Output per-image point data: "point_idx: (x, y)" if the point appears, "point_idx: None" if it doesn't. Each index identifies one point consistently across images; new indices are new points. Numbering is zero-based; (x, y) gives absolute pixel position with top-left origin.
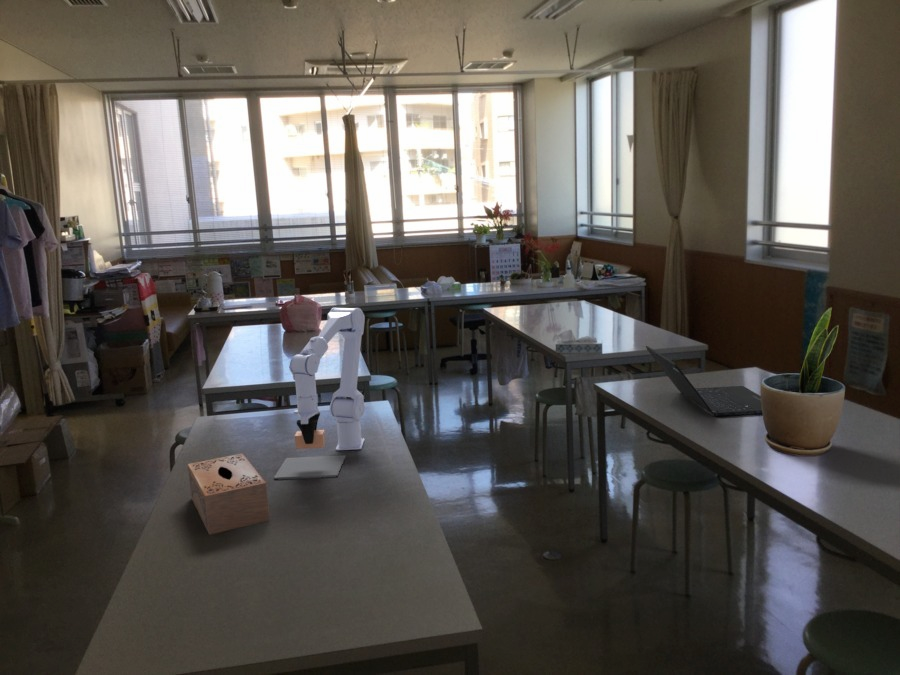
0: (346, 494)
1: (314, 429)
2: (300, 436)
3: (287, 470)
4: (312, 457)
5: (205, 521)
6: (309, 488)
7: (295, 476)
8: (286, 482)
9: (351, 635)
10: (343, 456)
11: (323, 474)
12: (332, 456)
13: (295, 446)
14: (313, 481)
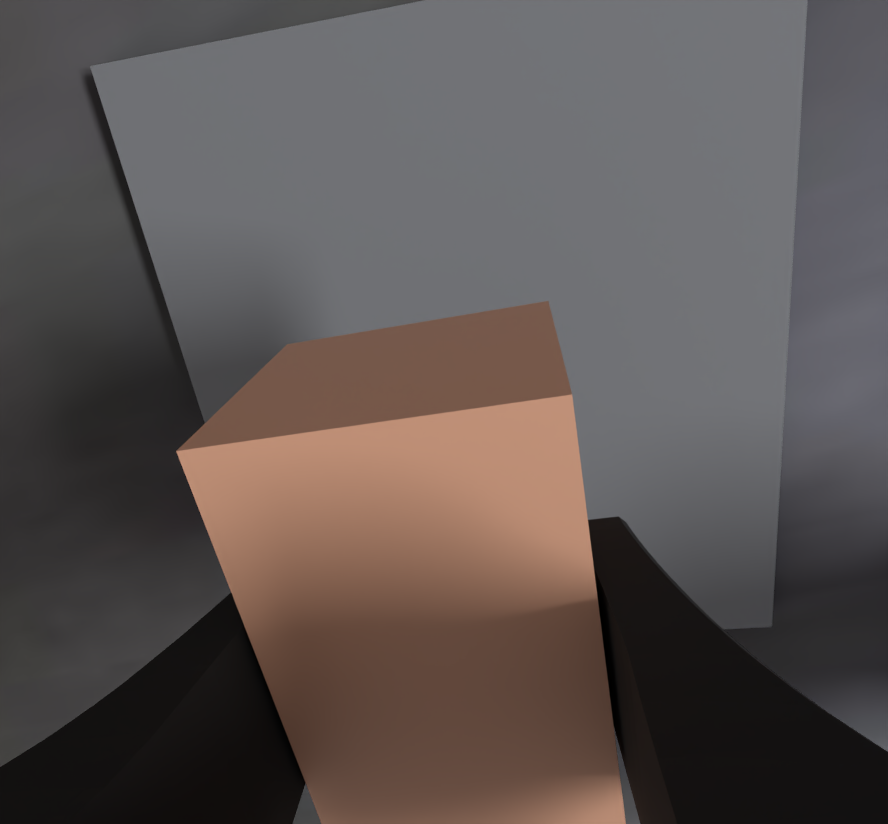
0: (8, 741)
1: (626, 763)
2: (233, 560)
3: (325, 155)
4: (764, 316)
5: None
6: (18, 500)
7: (175, 317)
8: (76, 251)
9: None
10: (739, 617)
11: None
12: (759, 521)
13: (272, 360)
14: (159, 491)
